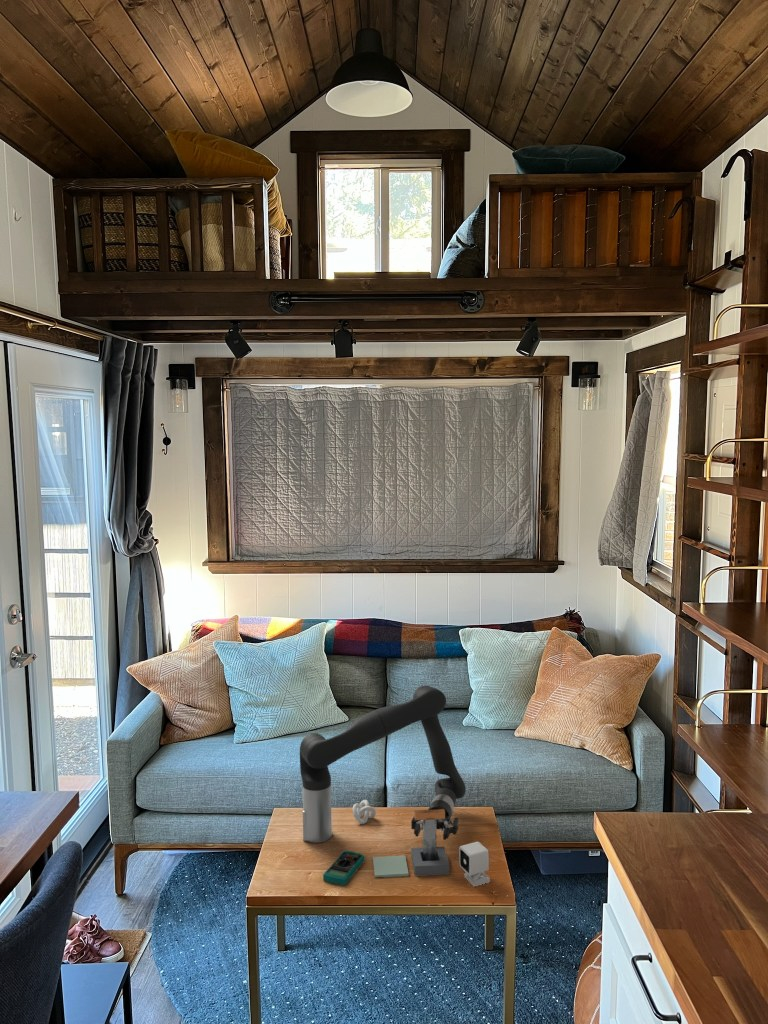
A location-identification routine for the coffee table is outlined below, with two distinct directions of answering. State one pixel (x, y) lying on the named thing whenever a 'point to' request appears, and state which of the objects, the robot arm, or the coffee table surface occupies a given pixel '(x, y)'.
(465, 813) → the coffee table surface
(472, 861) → the security camera
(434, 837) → the t key
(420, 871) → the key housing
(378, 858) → the pad
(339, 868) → the digital multimeter
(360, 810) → the knot
